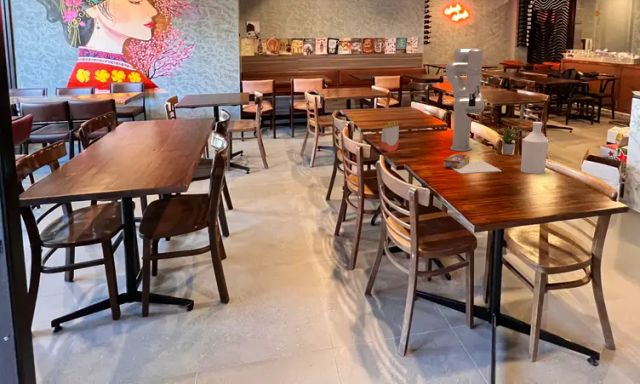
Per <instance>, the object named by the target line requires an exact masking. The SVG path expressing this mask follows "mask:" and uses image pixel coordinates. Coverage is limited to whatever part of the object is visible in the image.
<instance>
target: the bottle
mask: <svg viewBox="0 0 640 384" xmlns="http://www.w3.org/2000/svg"><path fill="white" fill-rule="evenodd" d="M542 127H543V122H542V121H532V131H531V132H530V133H529V134H527V135H526V136H525V137H524V138H523V141H522V149H521V150H522V151H521V162H520V163H521V165H520V171H521V172H522V173H525V174H533V175H540V174H544V173H545V171H546V163H547V158H548V157H547V156H548V149H549V139H548V138H547V137H546V136H545V134H544V133H543V132H542Z"/></svg>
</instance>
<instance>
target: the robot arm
mask: <svg viewBox="0 0 640 384" xmlns="http://www.w3.org/2000/svg"><path fill="white" fill-rule="evenodd" d="M453 53H454V54H453V59H454V61H451V62H449V63H447V65H446V67H445V73H446V78H447V81H448V82H449V85H450V86H451V89H452V94H453V97H454V101H453V111H454V113H453V115H454V116H453V117H454V118H453V120H454V121H453V134H452V135H453V137H452V145H451V146H450V147H449V149H450V150H451V151H454V152H470V151H472V147H471V146H470V136H471V134H470V132H471V119H470V117H469V116H468V115H467V114H480V113H482V112H483V111H484V110H485V101H484V97H483V93H482V90H481V84H482V83H481V82H482V81H481V76H482V71H483V70H482V68H483V56H484V52H483V50H482V49H481V48H478V47H477V48H476V47H461V48H456V49H455V50H454V52H453ZM461 76H466V79H464V78H463V77H461Z"/></svg>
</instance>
